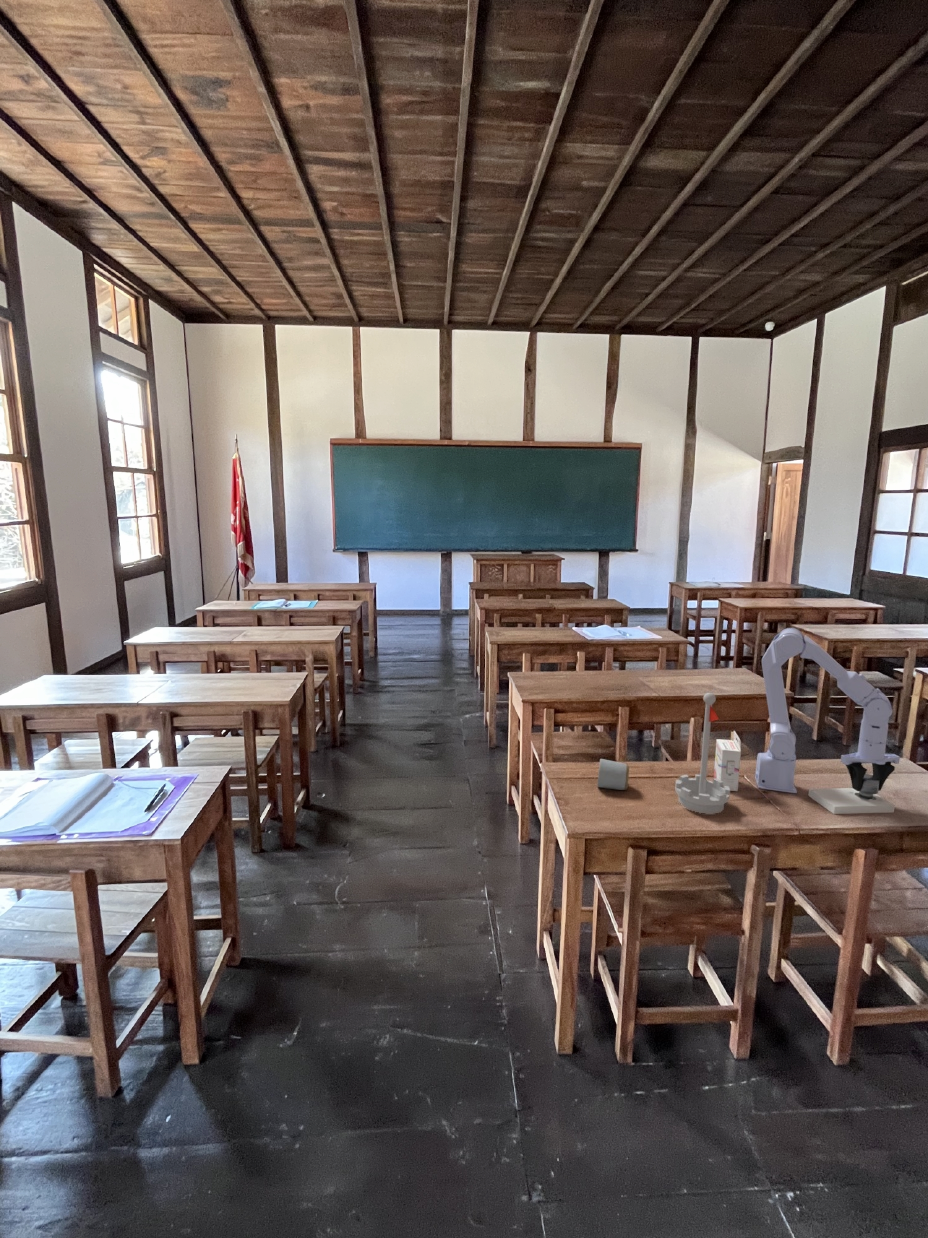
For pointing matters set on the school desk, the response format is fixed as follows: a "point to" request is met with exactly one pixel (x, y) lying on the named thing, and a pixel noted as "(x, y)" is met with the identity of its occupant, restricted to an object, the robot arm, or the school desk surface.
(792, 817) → the school desk surface
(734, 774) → the ink cartridge box
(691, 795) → the flag stand
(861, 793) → the peg
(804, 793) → the school desk surface
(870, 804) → the board
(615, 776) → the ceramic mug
